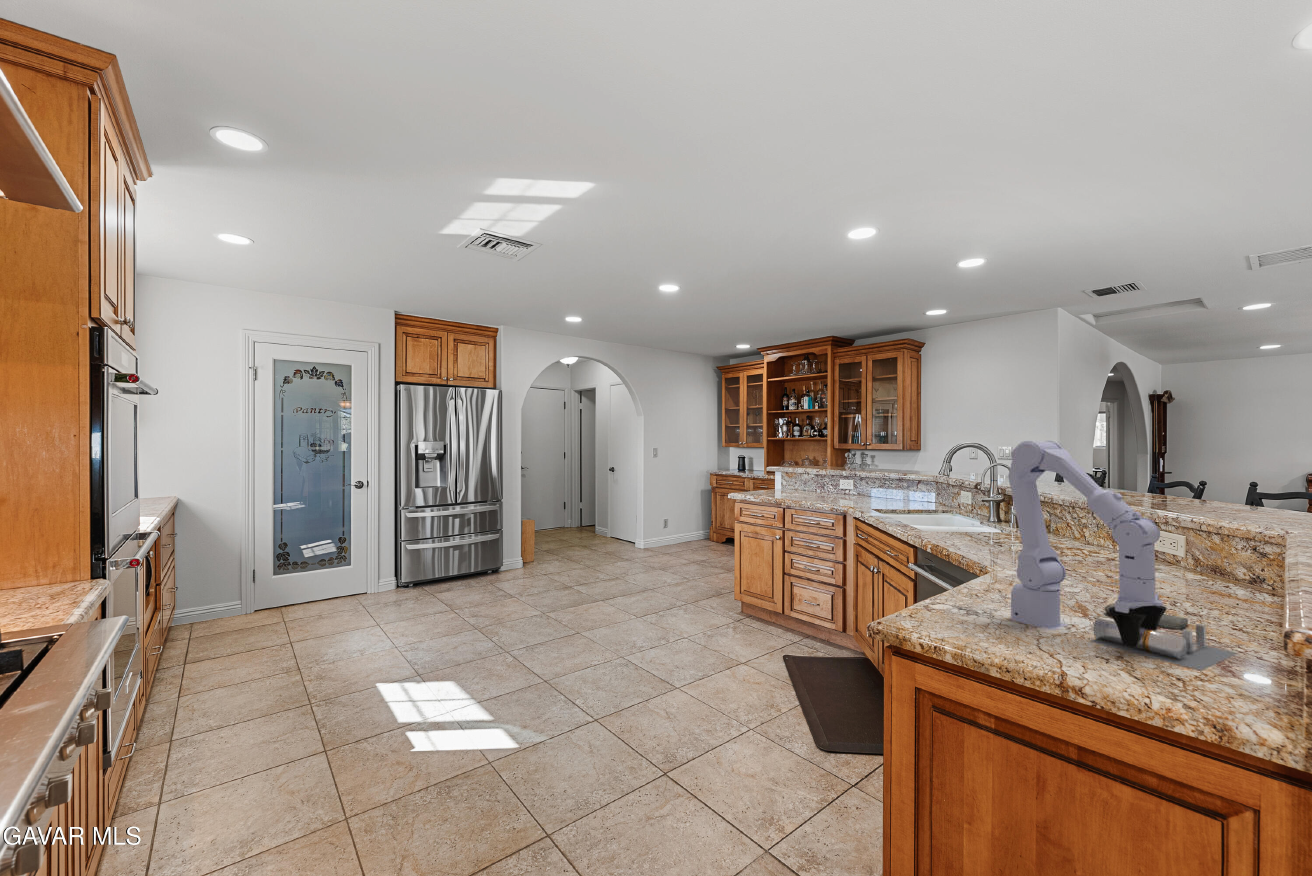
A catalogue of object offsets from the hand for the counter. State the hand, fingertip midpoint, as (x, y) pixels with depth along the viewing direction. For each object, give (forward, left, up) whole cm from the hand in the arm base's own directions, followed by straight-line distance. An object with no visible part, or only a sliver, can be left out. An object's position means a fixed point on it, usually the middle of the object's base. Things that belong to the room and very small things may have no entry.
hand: (1138, 641), depth 115 cm
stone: (-8, +25, -2) cm, 26 cm away
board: (+2, +5, -2) cm, 6 cm away
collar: (+6, +9, -1) cm, 11 cm away
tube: (0, 0, -1) cm, 1 cm away
